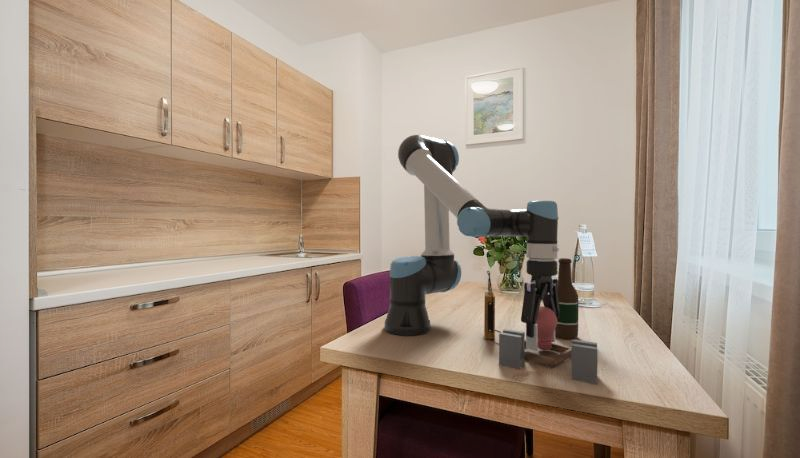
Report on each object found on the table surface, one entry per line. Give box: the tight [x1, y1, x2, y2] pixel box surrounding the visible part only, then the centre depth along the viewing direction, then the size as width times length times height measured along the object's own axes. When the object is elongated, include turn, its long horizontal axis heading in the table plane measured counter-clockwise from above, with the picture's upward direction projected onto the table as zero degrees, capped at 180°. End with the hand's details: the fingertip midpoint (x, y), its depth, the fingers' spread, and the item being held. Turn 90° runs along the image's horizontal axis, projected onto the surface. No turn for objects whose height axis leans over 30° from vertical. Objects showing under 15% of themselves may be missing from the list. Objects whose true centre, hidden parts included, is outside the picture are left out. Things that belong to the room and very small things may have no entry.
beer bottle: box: [555, 257, 580, 340], centre depth 108 cm, size 8×8×24 cm
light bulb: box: [536, 305, 557, 350], centre depth 93 cm, size 7×7×12 cm
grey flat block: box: [570, 339, 598, 385], centre depth 78 cm, size 5×5×8 cm
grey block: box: [498, 328, 526, 370], centre depth 86 cm, size 5×5×8 cm
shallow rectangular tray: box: [524, 339, 572, 369], centre depth 92 cm, size 12×12×2 cm
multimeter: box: [483, 270, 502, 345], centre depth 106 cm, size 15×10×20 cm
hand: (540, 344), depth 92 cm, fingers open, 9 cm apart
